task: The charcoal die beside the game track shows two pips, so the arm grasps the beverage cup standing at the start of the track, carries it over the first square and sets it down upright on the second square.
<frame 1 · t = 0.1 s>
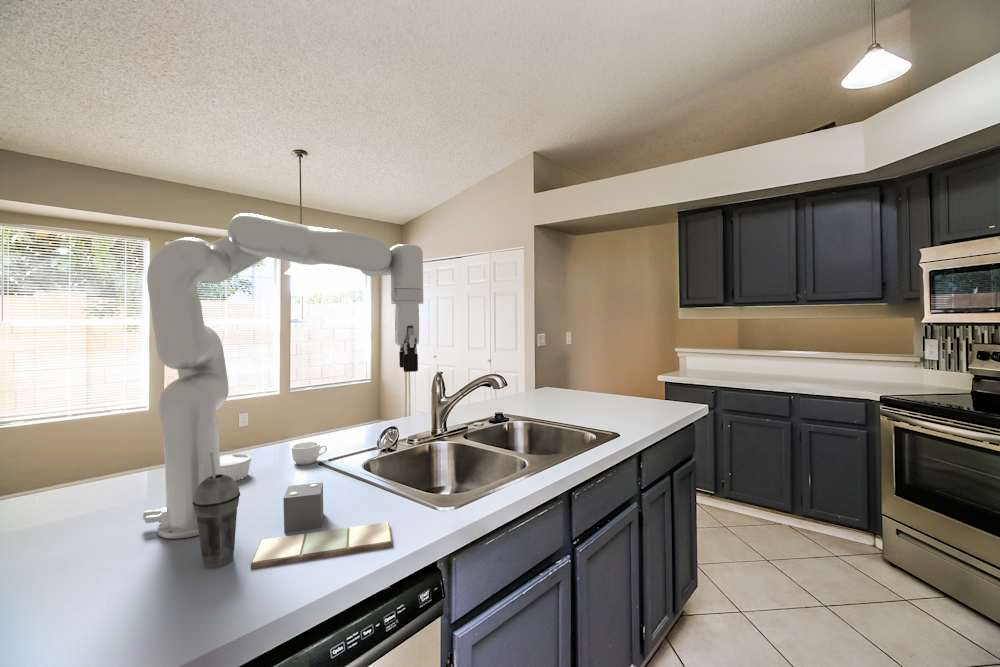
hand: (408, 369, 108), 31 cm above the worktop, tool pointing down, fingers open, 9 cm apart
ramekin: (228, 479, 124), on the worktop
die: (304, 522, 96), on the worktop
teacup: (309, 462, 137), on the worktop
game track: (326, 545, 86), on the worktop
beverage cup: (218, 562, 81), on the worktop
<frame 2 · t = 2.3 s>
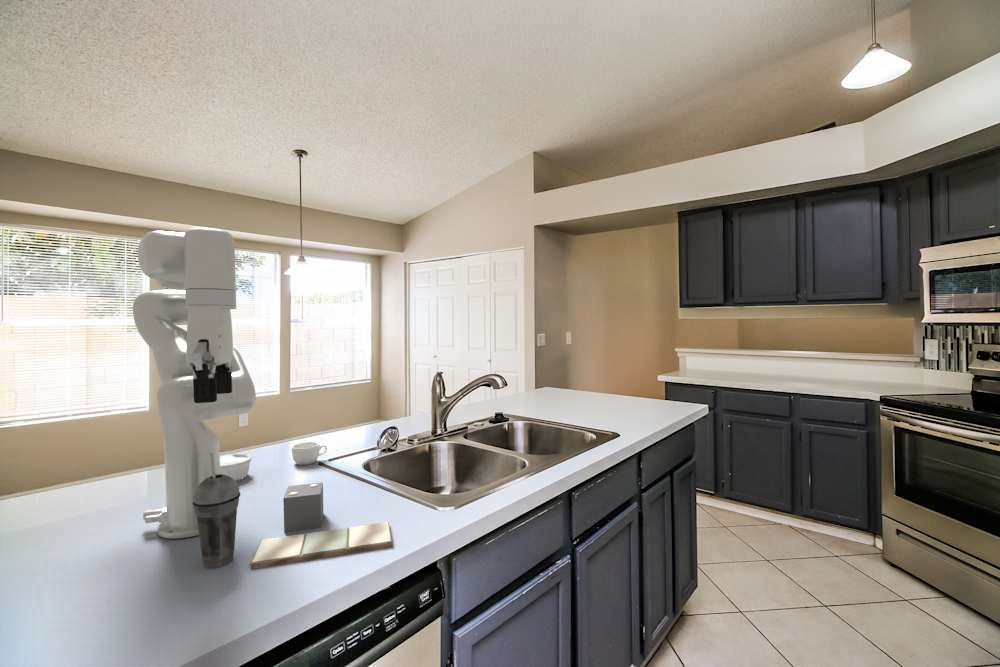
hand: (214, 397, 80), 30 cm above the worktop, tool pointing down, fingers open, 9 cm apart
nothing on the worktop moved.
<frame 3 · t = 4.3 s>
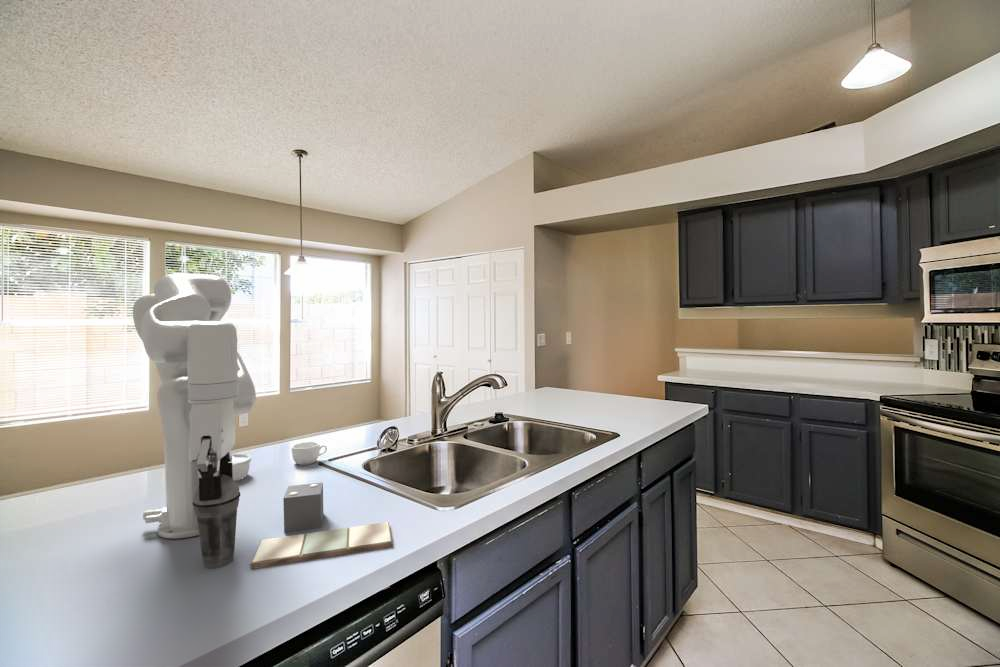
hand: (216, 491, 80), 13 cm above the worktop, tool pointing down, fingers closed on beverage cup, 6 cm apart
beverage cup: (219, 562, 81), on the worktop, touching gripper
everything else where it was.
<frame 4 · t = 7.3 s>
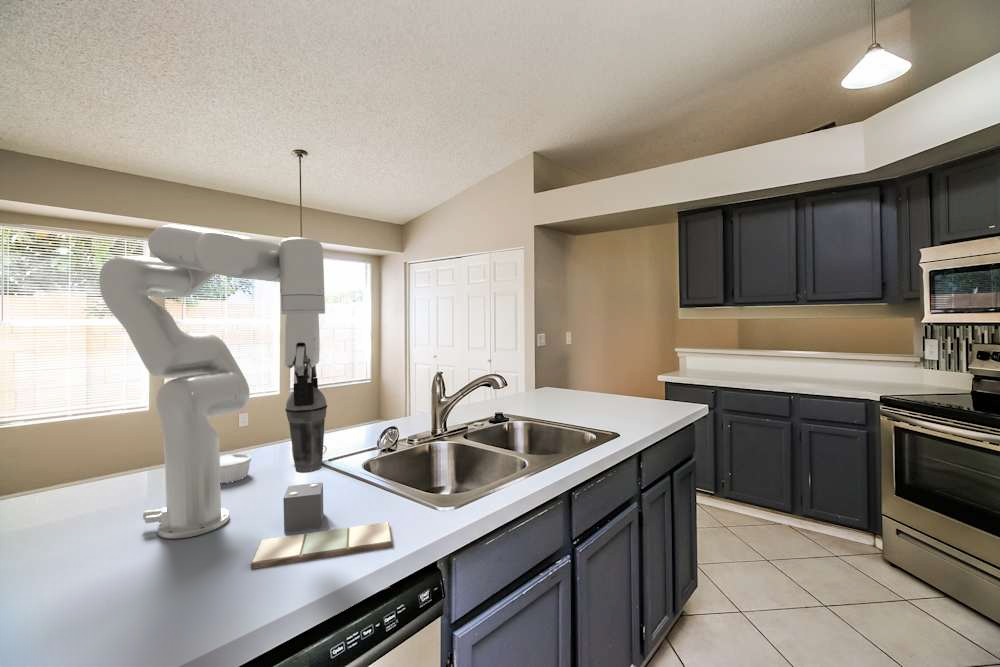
hand: (306, 401, 84), 28 cm above the worktop, tool pointing down, fingers closed on beverage cup, 6 cm apart
beverage cup: (308, 469, 85), point 15 cm above the worktop, touching gripper
everything else where it was.
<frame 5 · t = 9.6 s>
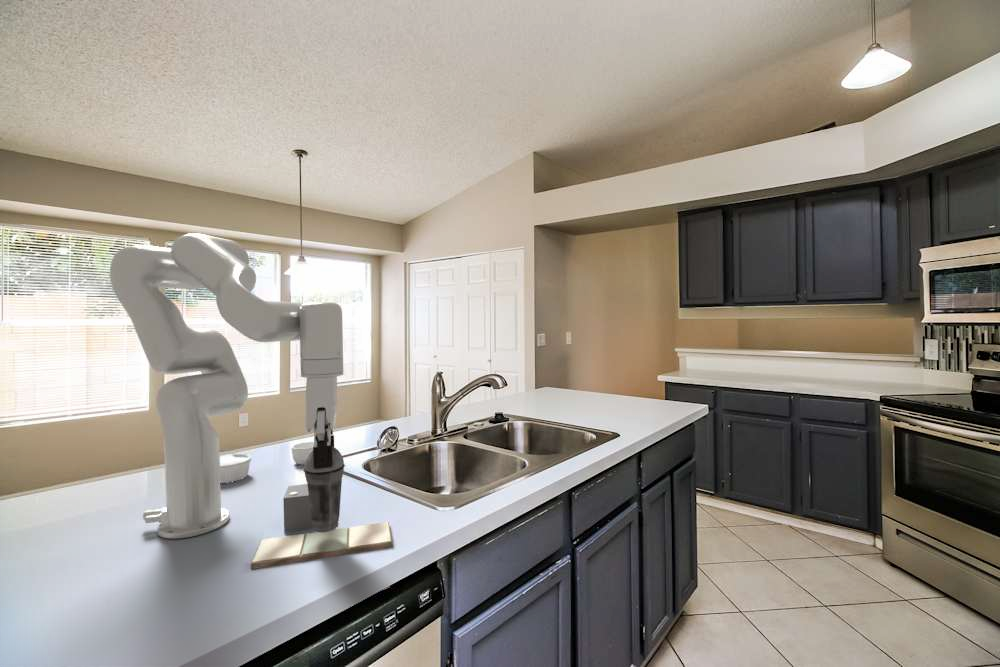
hand: (324, 460, 86), 16 cm above the worktop, tool pointing down, fingers closed on beverage cup, 6 cm apart
beverage cup: (325, 527, 86), point 3 cm above the worktop, touching gripper
everything else where it was.
when the fingers open (15 cm above the worktop, at t = 10.5 s): beverage cup drops 1 cm, resting on game track.
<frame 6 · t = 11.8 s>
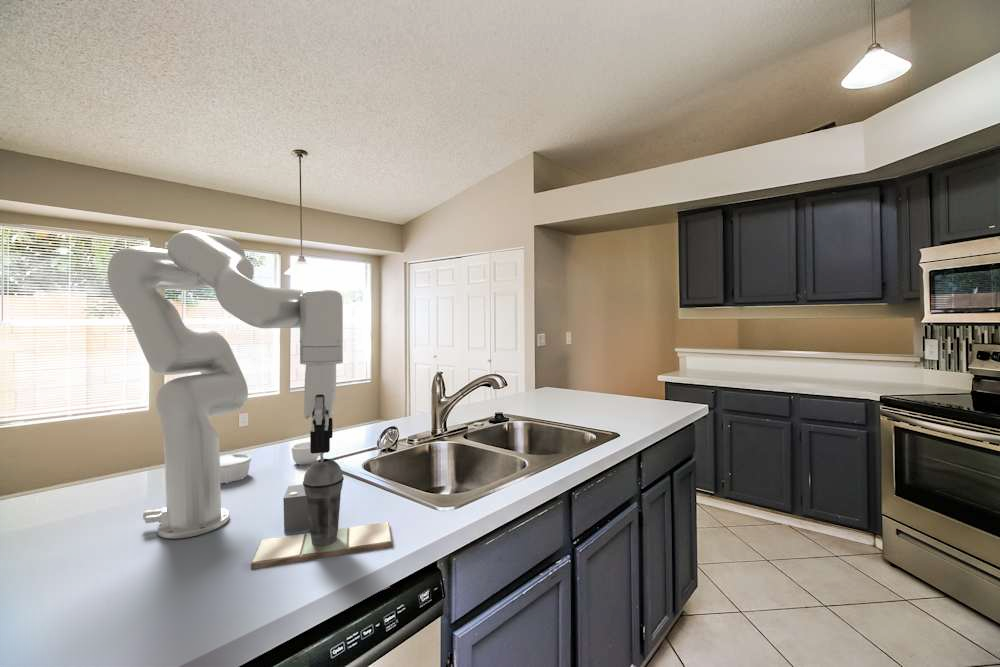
hand: (322, 445, 86), 19 cm above the worktop, tool pointing down, fingers open, 9 cm apart
beverage cup: (324, 541, 86), point 1 cm above the worktop, touching game track
everything else where it was.
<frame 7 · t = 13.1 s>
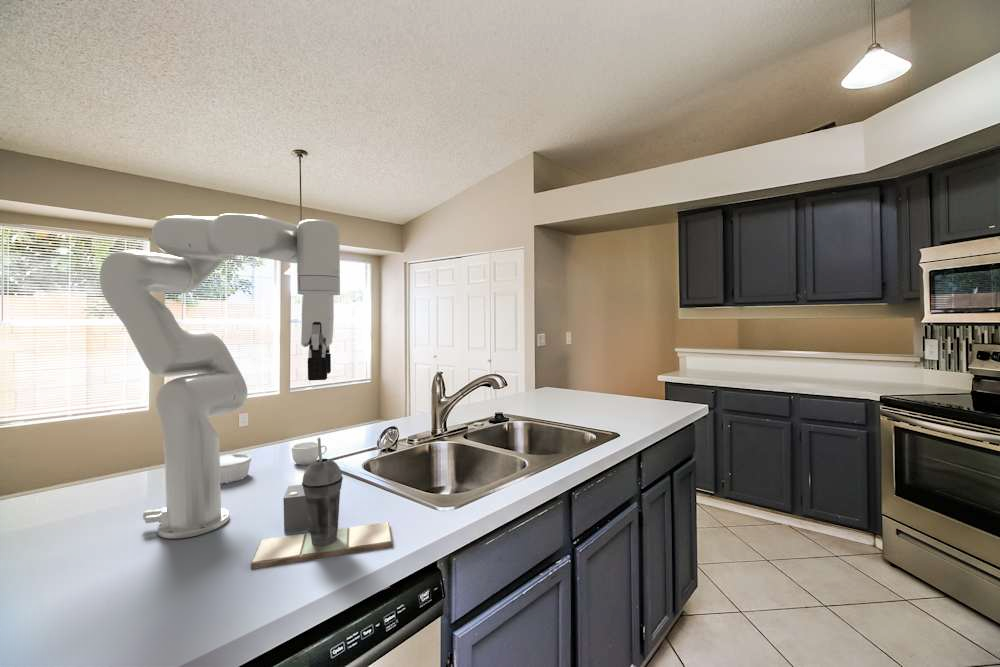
hand: (320, 376, 86), 32 cm above the worktop, tool pointing down, fingers open, 9 cm apart
nothing on the worktop moved.
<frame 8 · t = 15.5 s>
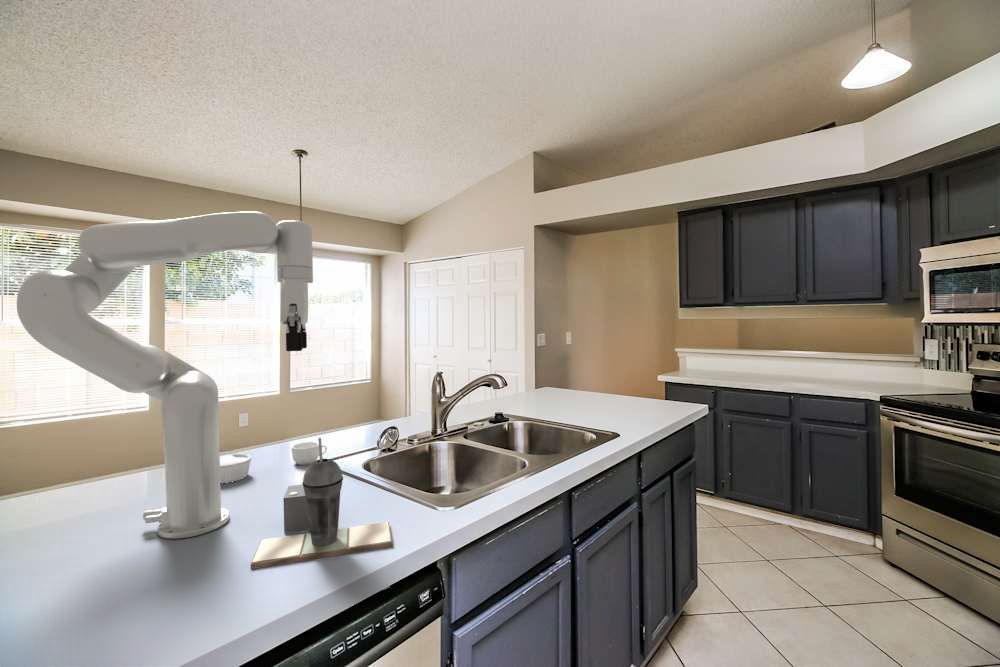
hand: (297, 349, 105), 36 cm above the worktop, tool pointing down, fingers open, 9 cm apart
nothing on the worktop moved.
at the end: beverage cup 0.3 cm off-centre on the game track, point 0.8 cm above the game track's base; beverage cup tilted 0°; the gripper is holding nothing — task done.
